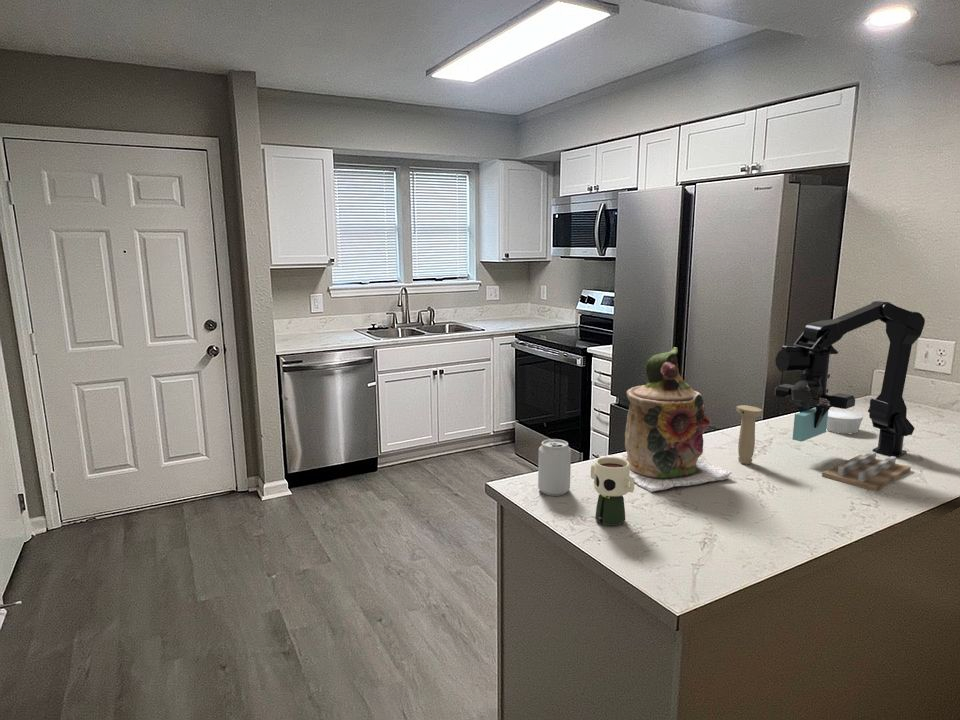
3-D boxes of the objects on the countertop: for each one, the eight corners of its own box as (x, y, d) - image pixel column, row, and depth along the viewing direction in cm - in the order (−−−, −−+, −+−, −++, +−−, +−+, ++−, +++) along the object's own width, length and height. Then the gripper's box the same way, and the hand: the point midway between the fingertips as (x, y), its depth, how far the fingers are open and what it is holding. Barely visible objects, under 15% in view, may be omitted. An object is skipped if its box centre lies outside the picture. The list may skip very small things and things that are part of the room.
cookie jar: (595, 461, 164) (599, 344, 158) (669, 450, 173) (675, 339, 167) (653, 495, 141) (660, 360, 136) (735, 480, 150) (745, 352, 145)
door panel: (817, 430, 171) (819, 406, 170) (826, 432, 169) (828, 407, 168) (792, 439, 163) (794, 414, 161) (801, 441, 161) (804, 416, 159)
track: (859, 458, 166) (860, 447, 165) (910, 470, 156) (911, 459, 156) (821, 476, 153) (823, 464, 152) (875, 491, 143) (876, 478, 143)
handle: (749, 468, 159) (753, 412, 156) (728, 460, 164) (732, 406, 161) (761, 464, 161) (766, 409, 158) (740, 457, 166) (744, 404, 164)
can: (549, 499, 139) (550, 449, 137) (532, 488, 145) (532, 440, 143) (576, 493, 142) (577, 444, 140) (558, 482, 149) (559, 435, 147)
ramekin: (811, 427, 194) (813, 411, 193) (835, 423, 199) (836, 407, 198) (845, 437, 184) (847, 420, 183) (868, 432, 189) (870, 416, 188)
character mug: (579, 517, 130) (580, 459, 127) (600, 508, 134) (602, 451, 132) (621, 535, 121) (623, 473, 119) (642, 525, 126) (645, 465, 124)
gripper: (766, 368, 165) (761, 424, 168) (839, 380, 150) (833, 440, 153) (786, 363, 172) (782, 417, 174) (859, 374, 157) (852, 432, 160)
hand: (810, 426), depth 165 cm, fingers closed on door panel, 2 cm apart
